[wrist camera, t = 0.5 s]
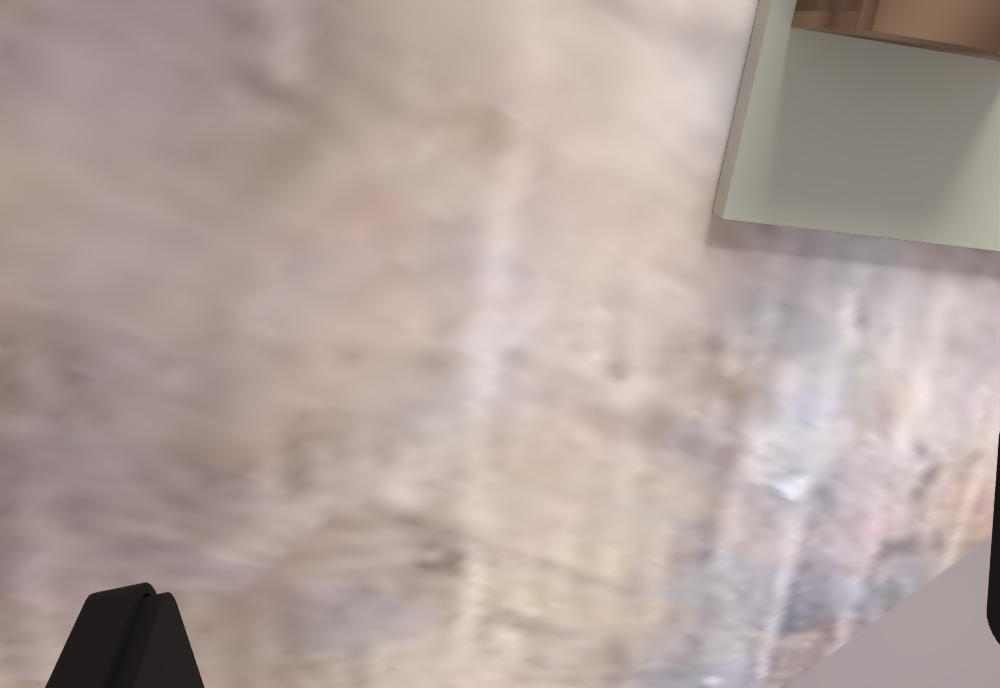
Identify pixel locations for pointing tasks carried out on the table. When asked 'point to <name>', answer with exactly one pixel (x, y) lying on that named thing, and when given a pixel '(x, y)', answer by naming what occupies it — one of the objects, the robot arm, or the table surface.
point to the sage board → (863, 137)
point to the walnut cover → (909, 23)
